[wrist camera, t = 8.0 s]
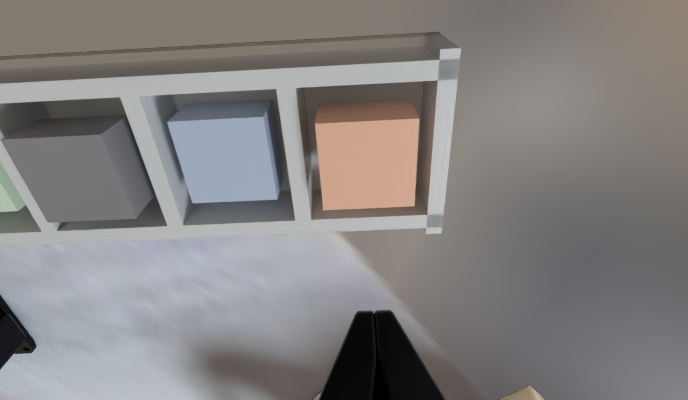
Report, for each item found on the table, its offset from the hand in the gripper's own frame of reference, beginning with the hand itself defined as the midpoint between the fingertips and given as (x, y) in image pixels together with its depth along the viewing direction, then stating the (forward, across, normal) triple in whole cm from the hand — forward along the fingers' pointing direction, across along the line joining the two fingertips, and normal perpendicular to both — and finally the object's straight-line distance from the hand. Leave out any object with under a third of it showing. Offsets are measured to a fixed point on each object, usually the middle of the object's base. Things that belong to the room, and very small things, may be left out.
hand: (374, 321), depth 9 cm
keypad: (+13, +10, 0) cm, 16 cm away
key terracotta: (+11, 0, 0) cm, 11 cm away
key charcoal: (+11, +13, 0) cm, 17 cm away
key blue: (+12, +6, 0) cm, 14 cm away
